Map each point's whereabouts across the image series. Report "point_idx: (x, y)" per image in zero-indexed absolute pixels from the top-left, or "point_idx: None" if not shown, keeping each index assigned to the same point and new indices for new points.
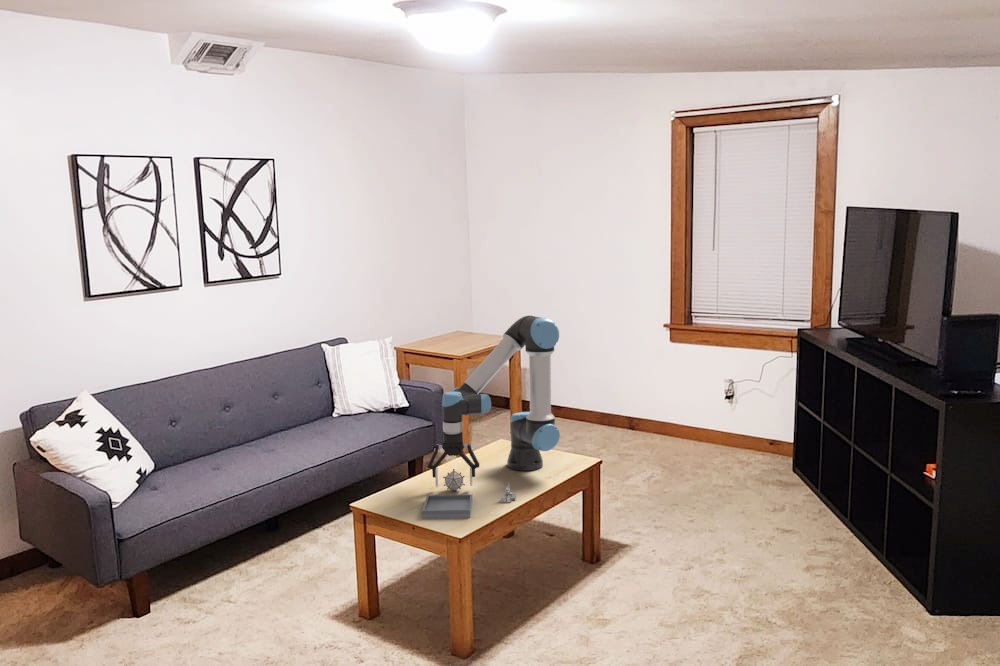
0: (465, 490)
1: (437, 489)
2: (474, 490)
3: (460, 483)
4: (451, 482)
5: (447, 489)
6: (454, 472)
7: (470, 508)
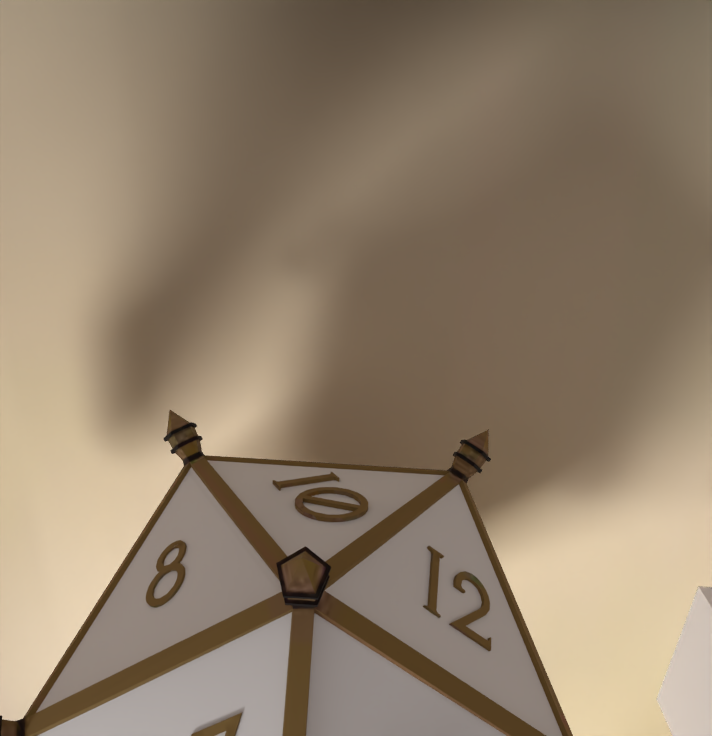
0: None
1: (595, 694)
2: (9, 585)
3: (142, 545)
4: (381, 537)
5: (479, 435)
6: None
7: None
